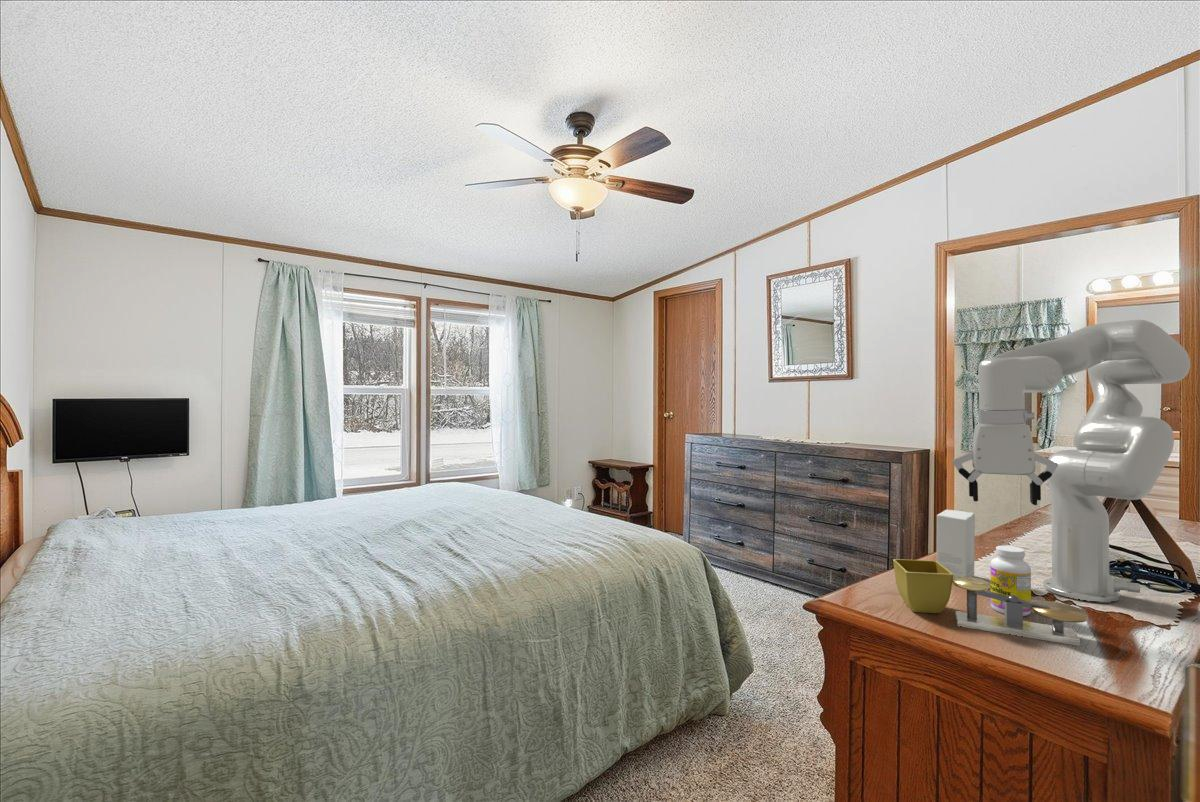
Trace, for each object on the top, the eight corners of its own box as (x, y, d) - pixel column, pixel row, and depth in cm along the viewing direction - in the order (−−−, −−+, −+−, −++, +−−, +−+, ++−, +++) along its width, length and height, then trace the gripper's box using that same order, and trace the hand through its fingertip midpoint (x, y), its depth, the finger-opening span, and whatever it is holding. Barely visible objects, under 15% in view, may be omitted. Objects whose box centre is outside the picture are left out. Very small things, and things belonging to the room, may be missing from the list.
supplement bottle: (982, 605, 114) (981, 544, 114) (1011, 603, 115) (1011, 543, 115) (1009, 618, 108) (1008, 553, 107) (1040, 616, 108) (1039, 552, 108)
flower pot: (955, 619, 108) (954, 573, 108) (906, 616, 110) (906, 571, 109) (936, 602, 116) (936, 560, 116) (892, 599, 118) (892, 558, 118)
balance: (1080, 633, 100) (1080, 589, 100) (1093, 651, 93) (1093, 604, 93) (952, 613, 110) (951, 573, 110) (955, 628, 103) (954, 585, 103)
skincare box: (946, 570, 137) (945, 508, 137) (977, 576, 132) (976, 512, 132) (935, 578, 131) (934, 513, 131) (967, 584, 126) (966, 518, 126)
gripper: (1052, 417, 110) (1054, 501, 110) (950, 417, 119) (952, 495, 119) (1060, 419, 103) (1062, 509, 103) (952, 420, 112) (954, 502, 112)
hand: (1003, 502), depth 111 cm, fingers open, 9 cm apart
